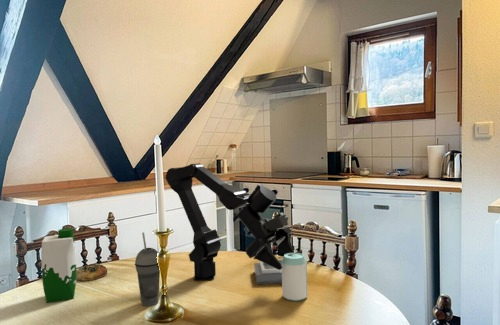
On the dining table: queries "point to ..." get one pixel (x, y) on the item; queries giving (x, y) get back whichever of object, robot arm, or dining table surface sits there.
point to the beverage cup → (148, 275)
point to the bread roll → (91, 272)
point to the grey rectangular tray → (267, 273)
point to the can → (294, 277)
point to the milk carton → (59, 266)
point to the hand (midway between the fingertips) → (288, 264)
